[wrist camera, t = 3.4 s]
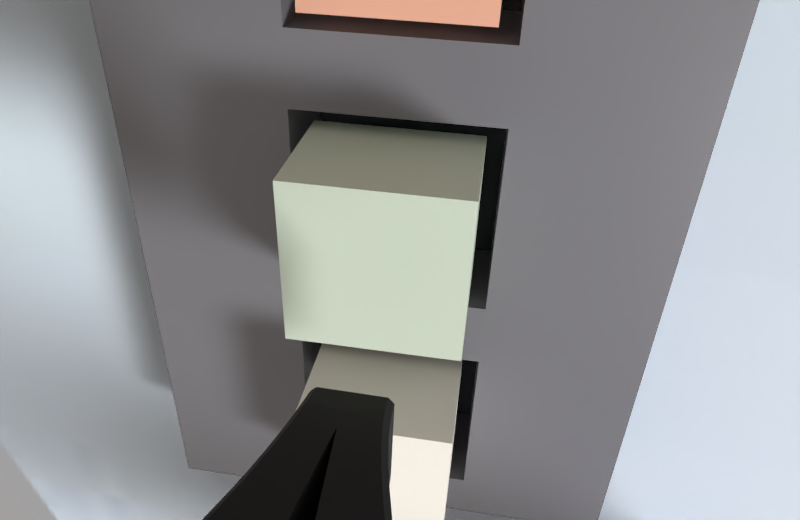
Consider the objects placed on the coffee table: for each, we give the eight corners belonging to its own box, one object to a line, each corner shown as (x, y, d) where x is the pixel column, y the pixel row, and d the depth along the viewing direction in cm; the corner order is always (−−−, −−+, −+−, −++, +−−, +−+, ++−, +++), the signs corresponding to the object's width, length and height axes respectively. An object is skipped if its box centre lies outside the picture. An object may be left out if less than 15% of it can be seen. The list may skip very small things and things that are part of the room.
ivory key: (452, 454, 19) (441, 543, 17) (327, 436, 20) (300, 520, 17) (462, 358, 17) (452, 443, 15) (323, 340, 18) (292, 420, 15)
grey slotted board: (588, 460, 21) (594, 530, 19) (220, 407, 23) (188, 467, 21) (811, -347, 11) (879, -384, 9) (95, -355, 12) (6, -388, 10)
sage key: (471, 280, 16) (461, 360, 14) (320, 262, 16) (285, 338, 14) (486, 136, 14) (478, 201, 12) (314, 120, 14) (272, 180, 12)
